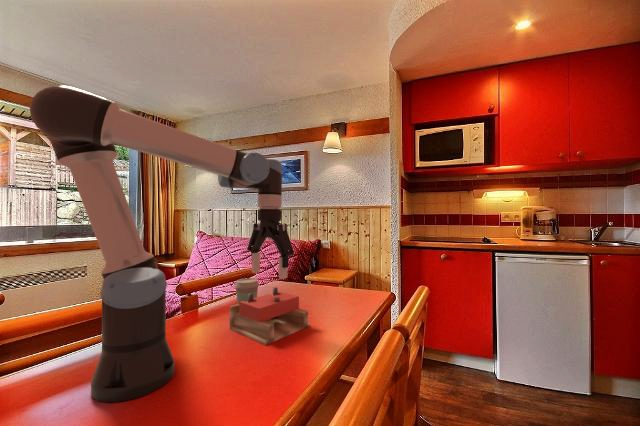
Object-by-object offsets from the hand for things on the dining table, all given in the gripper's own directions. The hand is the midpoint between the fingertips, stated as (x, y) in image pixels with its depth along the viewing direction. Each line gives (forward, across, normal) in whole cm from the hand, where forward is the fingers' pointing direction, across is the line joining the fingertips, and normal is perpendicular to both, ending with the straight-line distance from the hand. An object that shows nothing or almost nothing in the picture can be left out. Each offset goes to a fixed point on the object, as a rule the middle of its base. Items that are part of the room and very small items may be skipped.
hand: (268, 275), depth 92 cm
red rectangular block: (+12, 0, 0) cm, 12 cm away
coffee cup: (+17, +17, -4) cm, 24 cm away
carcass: (+16, 0, -1) cm, 17 cm away
